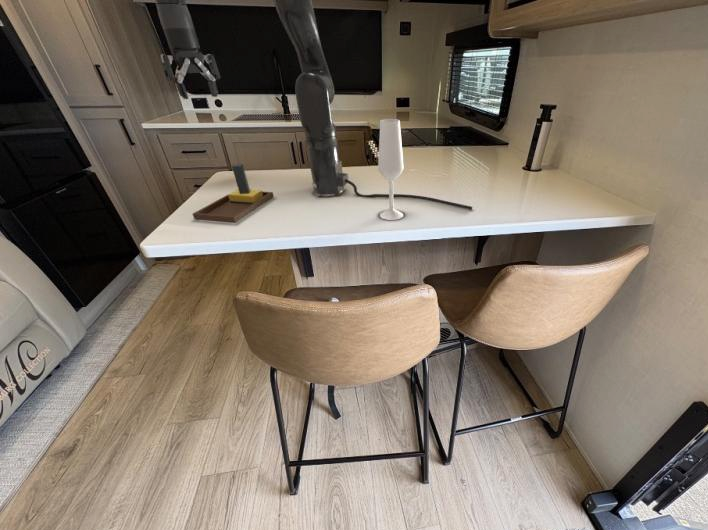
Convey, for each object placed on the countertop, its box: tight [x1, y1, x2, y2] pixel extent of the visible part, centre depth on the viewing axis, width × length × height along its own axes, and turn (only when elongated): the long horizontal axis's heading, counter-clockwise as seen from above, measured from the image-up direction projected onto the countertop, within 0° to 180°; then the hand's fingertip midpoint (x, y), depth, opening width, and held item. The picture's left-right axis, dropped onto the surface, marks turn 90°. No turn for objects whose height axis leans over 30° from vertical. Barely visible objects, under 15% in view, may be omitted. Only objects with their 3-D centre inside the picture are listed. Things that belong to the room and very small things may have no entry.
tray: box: [192, 191, 275, 224], centre depth 97 cm, size 13×21×2 cm, turn 168°
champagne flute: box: [377, 118, 404, 221], centre depth 87 cm, size 7×7×24 cm
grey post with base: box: [227, 163, 263, 204], centre depth 99 cm, size 8×6×11 cm
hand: (200, 97), depth 99 cm, fingers open, 8 cm apart
